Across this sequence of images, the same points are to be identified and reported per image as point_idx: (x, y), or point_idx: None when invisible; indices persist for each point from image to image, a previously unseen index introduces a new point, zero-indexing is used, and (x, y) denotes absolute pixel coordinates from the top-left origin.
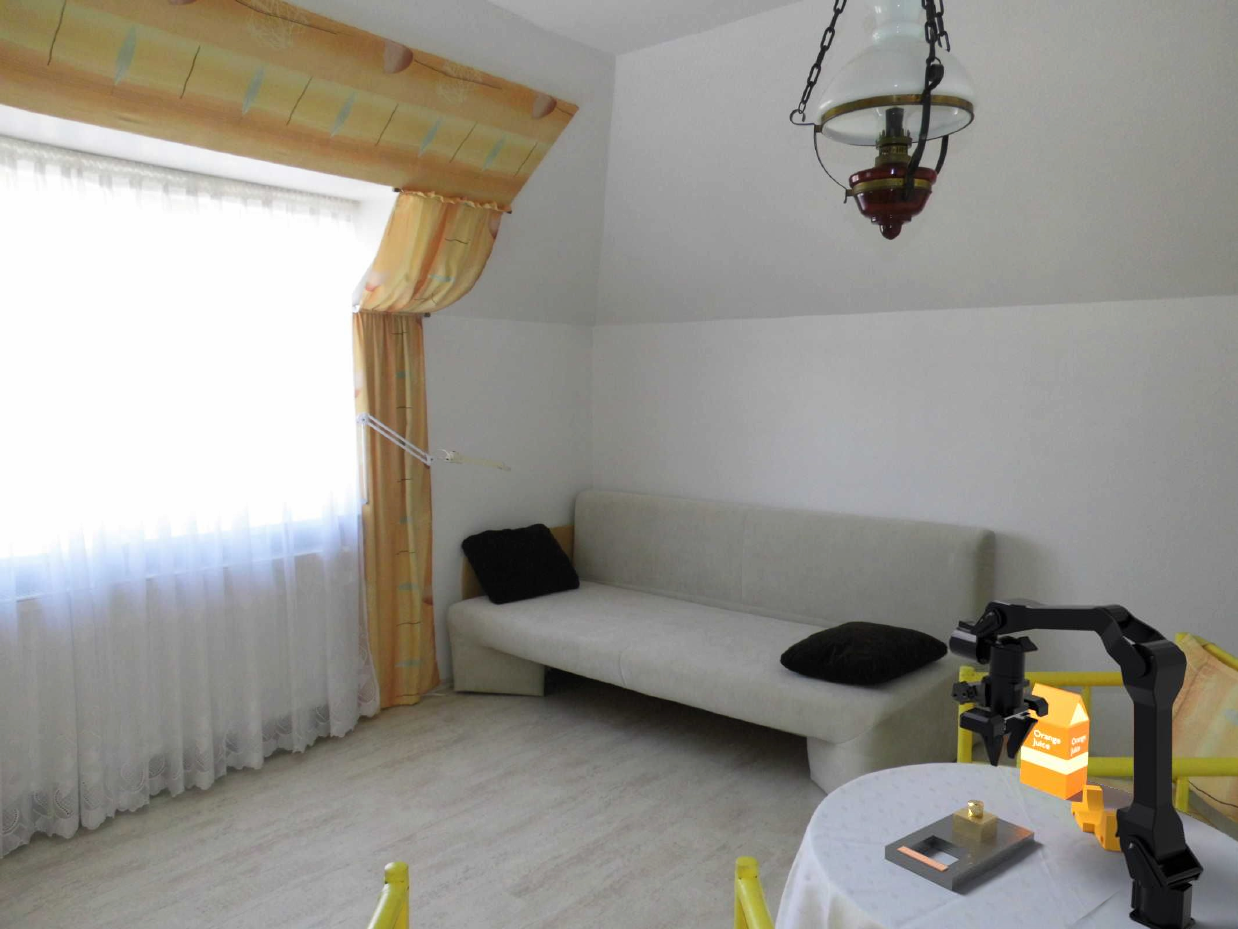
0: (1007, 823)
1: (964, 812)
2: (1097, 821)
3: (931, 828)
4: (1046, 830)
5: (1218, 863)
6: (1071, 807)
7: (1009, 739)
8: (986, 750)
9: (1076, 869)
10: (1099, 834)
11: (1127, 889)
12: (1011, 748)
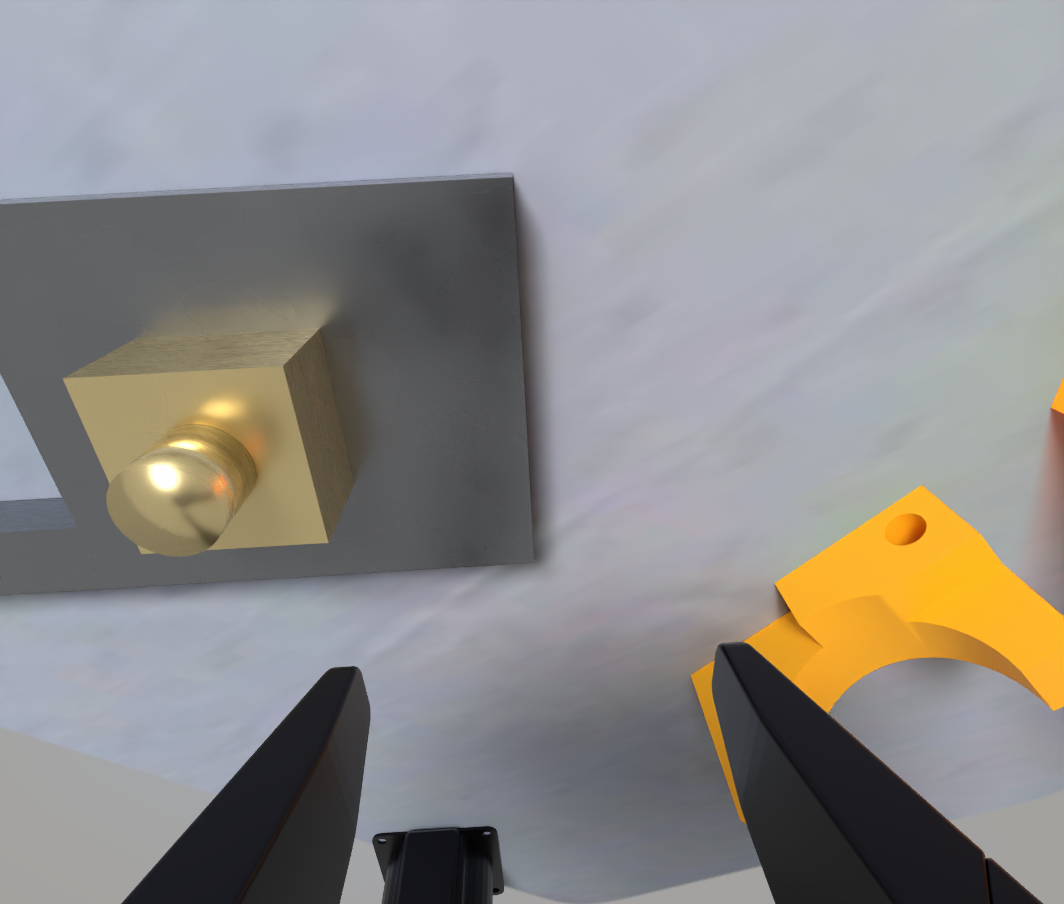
0: (506, 451)
1: (153, 414)
2: (858, 644)
3: (10, 247)
4: (707, 490)
5: None
6: (957, 515)
7: (846, 891)
8: (175, 844)
9: (485, 684)
10: None
11: (505, 788)
12: (765, 784)
